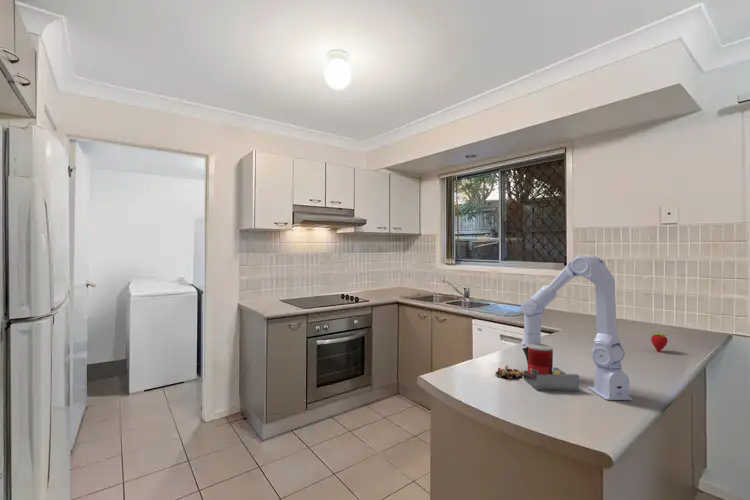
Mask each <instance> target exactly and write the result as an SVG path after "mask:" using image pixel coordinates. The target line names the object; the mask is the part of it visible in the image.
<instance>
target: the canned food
mask: <svg viewBox="0 0 750 500" xmlns="http://www.w3.org/2000/svg"><path fill="white" fill-rule="evenodd" d="M553 349H554V348H553V347H552V346H550V345H548V344H543V343H541V344H529V345H528V363H527V371H528V372H530V373H531V374H532V375H533V376H535V374H553V368H554V367H553V363H554V361H553V359H554V358H553V357H554V351H553Z"/></svg>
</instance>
